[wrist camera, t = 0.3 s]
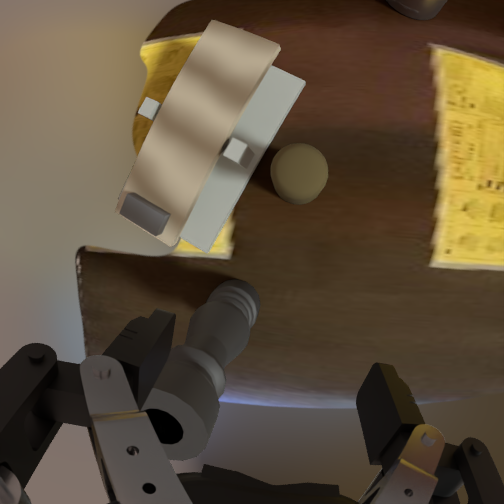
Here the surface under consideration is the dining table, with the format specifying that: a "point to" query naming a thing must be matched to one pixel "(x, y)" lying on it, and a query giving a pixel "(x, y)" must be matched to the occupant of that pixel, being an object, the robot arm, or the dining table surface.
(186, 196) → the beam
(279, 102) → the beam stand
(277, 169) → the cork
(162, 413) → the candle holder
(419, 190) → the dining table surface
